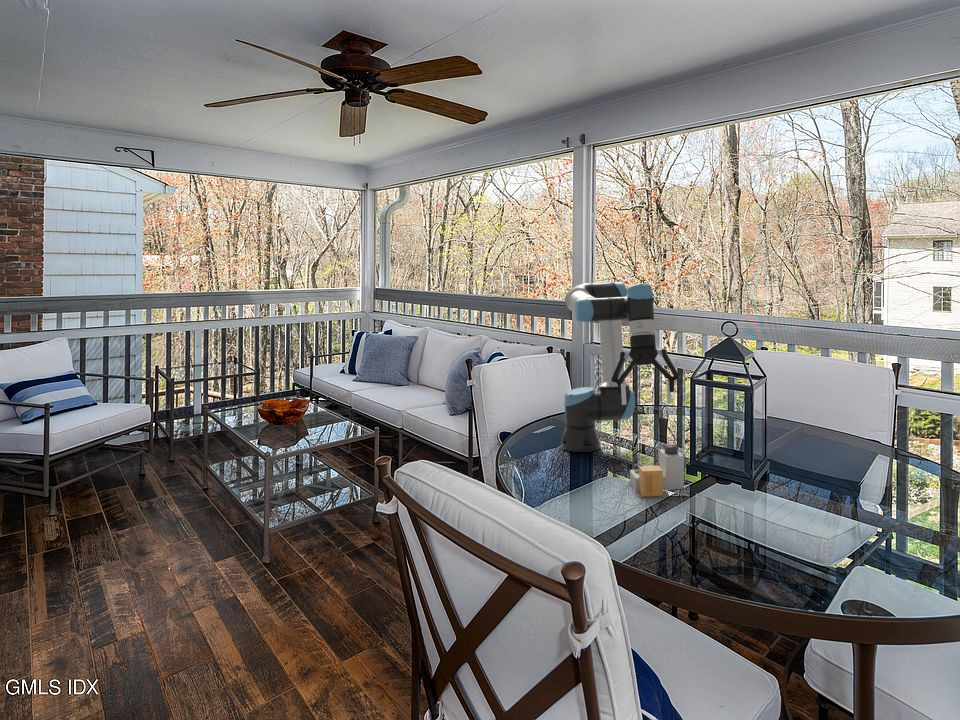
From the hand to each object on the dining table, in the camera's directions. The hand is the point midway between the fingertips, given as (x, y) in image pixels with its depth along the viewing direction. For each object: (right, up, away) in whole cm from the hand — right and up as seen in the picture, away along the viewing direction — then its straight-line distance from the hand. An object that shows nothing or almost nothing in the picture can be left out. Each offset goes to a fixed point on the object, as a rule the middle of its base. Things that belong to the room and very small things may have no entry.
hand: (646, 404), depth 174 cm
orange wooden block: (+2, -28, +1) cm, 28 cm away
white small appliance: (+5, -27, +5) cm, 28 cm away
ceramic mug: (+14, -25, +20) cm, 35 cm away
